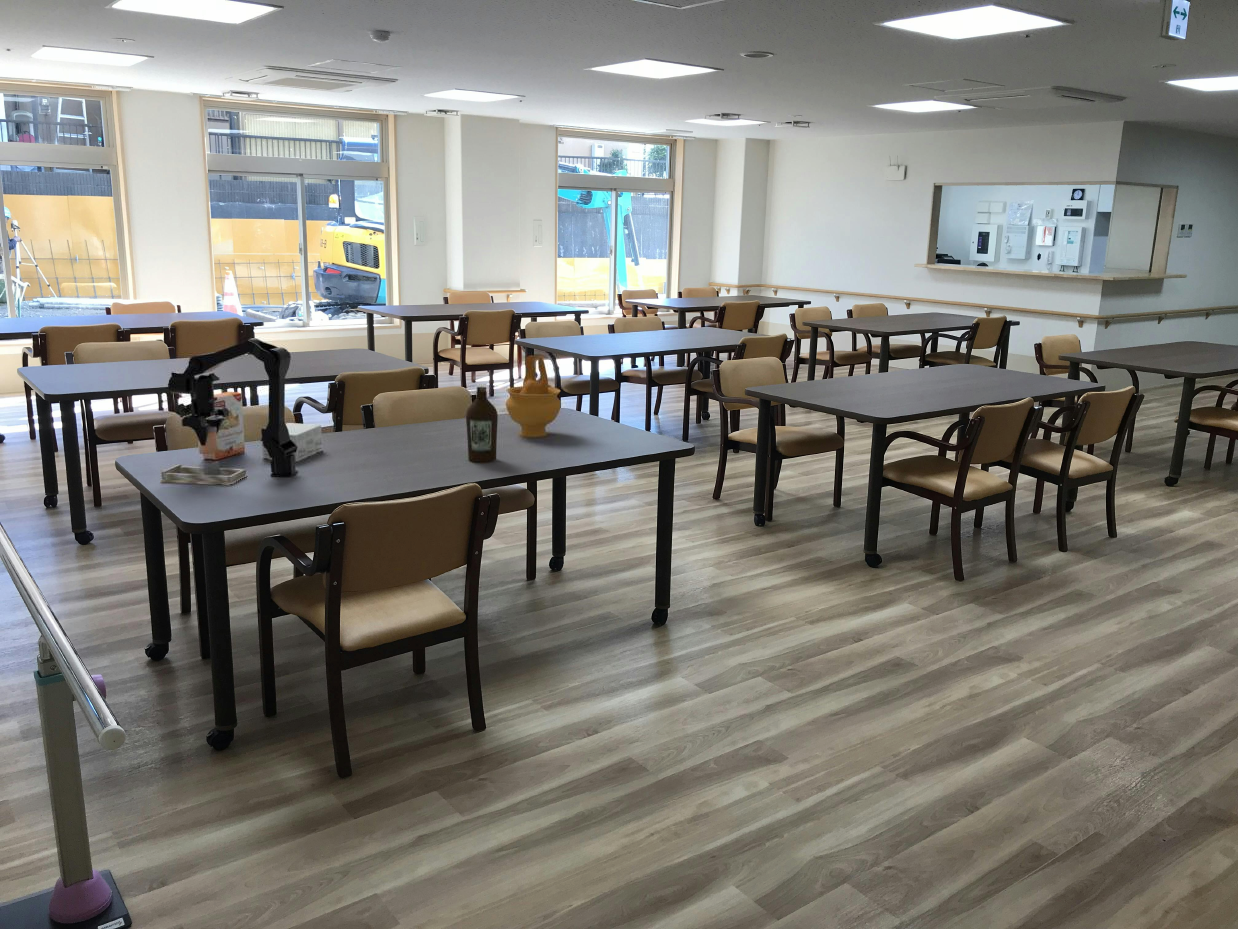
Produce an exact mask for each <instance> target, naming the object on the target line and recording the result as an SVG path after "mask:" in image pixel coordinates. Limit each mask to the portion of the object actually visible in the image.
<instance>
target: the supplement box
mask: <svg viewBox="0 0 1238 929" xmlns="http://www.w3.org/2000/svg"><path fill="white" fill-rule="evenodd" d="M285 424H286V426H287V428H288V431H289V437H290V439H291V440H292V441H293V442H294V443H295V444H296V445H297V447H298V448H297V451H296V453H293V454H295V462H299V461H302V460H304V459H306V458H308V456H309V457H310V456H314V455H315V454H318V453H320V452H321V451H323V437H322V425H320V424H314V423H312V424H309V423H296V422H285ZM260 435H261V436H260V437H261V438H260V439H262V433H261V432H260ZM261 450H262V459H263V458H268V459H267V460H272V458H270V456H269V454H268V452H267V450H266V448H264V446H263V441H261ZM317 452H318V453H317Z"/></svg>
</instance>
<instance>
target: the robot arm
mask: <svg viewBox="0 0 1238 929" xmlns="http://www.w3.org/2000/svg"><path fill="white" fill-rule="evenodd" d="M247 354H250V355H252V356H253V357H254V358H255V359H257V361H258V360H259V361H260V362H262V363H263V367H264V370H265V373H266V375H267V378H268V423H267V425H266V426H264V427H263V428H261V431H260V434H261V433H262V438H260V442H262V441H263V446H264V448H266V450H267V452H268V454H269V456H270V458H272V459H269V460H270V472H271V473H270V474H269V475H270V477H286V478H287V477H292V476H295V474H297V473H298V472H299V470H296V469H297V468H296V461H295V454H293V453H296V451H297V448H298V447H297V445H296V444H295V443H294V442H293V441H292V440H291V439H290V437H289V431H288V428H287V426H286V422H285V415H286V414H285V411H286V410H285V408H286V407H285V402H286V401H285V398H286V395H285V392H286V391H285V390H286V388H285V387H286V376H287V373H288V372H289V368H290V366H291V358H292V357H291V353H290V351H288V349H286V348H285V347H283V346H282V347H278V346H276V345H274V344H270V343H268V342H266V341H262V340H261V339H258V338H256V337H255V338H253V337H252V338H249V339H246V340H244V341H243V342H240V343H238V344H235V345H232V346H231V345H230V346H229V347H226V348H224V349H221V350H218V351H215V352H208V353H203V354H198V355H193V356H191V357H190V358H189V359H188V365H187V366H186V368H185V370H184V371H183V372H182V371H172V372H171V373H170V374H171V376H170V377H169V379H168V383H167V387H168V391H169V392H170V393H171V394H178V395H179V394H182V395H191V394H193V395H194V397H193V398H191V400H190V403H188V404H186V405H185V404H184V403H183V402H181V403H179V404H176V405H175V414H176V415H178V416H179V417H180V419H181V427H188V428H191V429H192V430H193V432H194V433H195V434H196V436H197V440H198V439H199V441H200V443H201V445H202V446H205V444H206V440H207V435H208V431H209V426H216V427H217V431H216V433H217V434H218V432H219V429H220V427H221V425H222V423H223V421H224V420H225V419H224V418H220V416H223V417H228V416H229V410H228V409H227V408H226V407H215V401H216V400H217V397H214V395H215V391H214V382H217V381H220V380H221V379H220V377H219V376H217V375H216V374H215V373H214V372H212V371H214V370H216V369H217V368H219V367H220V366H221V365H223V364H224V363H227V362H229V361H232V360H234V359H237V358H239V357H244V356H246V355H247ZM211 372H212V373H211ZM206 373H209V374H208V375H207V374H206ZM196 376H198V377H196Z"/></svg>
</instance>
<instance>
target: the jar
mask: <svg viewBox="0 0 1238 929" xmlns="http://www.w3.org/2000/svg"><path fill="white" fill-rule="evenodd" d="M216 431H217V427H216V426H209V431H208V435H207V440H206V444H205V446H202V445H201V443H200V441H199V439H198V438H197V440H198V442H197V443H198V453H199V454H200V455H203V454H214V453H217V452H218V446H217V433H216Z"/></svg>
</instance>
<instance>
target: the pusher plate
mask: <svg viewBox="0 0 1238 929" xmlns="http://www.w3.org/2000/svg"><path fill="white" fill-rule="evenodd" d="M203 467H204V474H205V475H219V474H220V469H219V468H220V461H214V462H211V463H209V464H207V465H204V466H203Z"/></svg>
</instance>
